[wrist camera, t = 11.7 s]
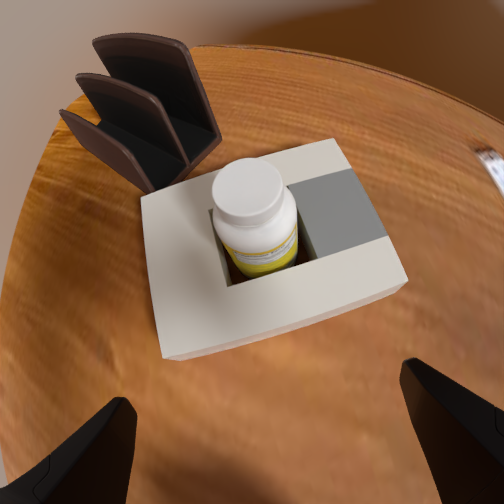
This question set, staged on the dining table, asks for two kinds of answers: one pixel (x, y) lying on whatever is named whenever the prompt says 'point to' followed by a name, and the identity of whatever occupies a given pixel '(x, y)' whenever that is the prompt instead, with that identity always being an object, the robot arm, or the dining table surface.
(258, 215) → the supplement bottle
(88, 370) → the dining table surface
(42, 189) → the dining table surface
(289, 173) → the socket block
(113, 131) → the letter holder
